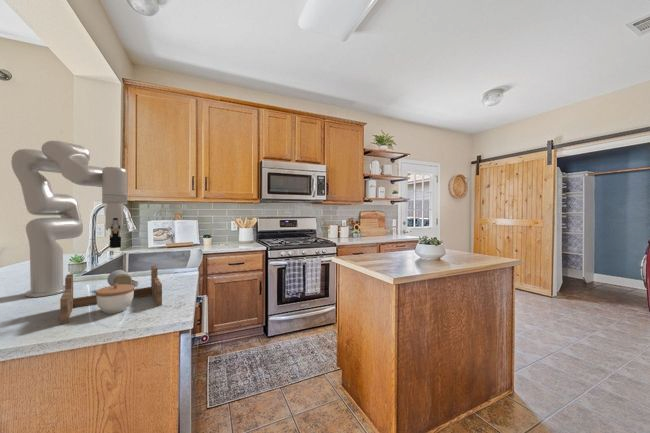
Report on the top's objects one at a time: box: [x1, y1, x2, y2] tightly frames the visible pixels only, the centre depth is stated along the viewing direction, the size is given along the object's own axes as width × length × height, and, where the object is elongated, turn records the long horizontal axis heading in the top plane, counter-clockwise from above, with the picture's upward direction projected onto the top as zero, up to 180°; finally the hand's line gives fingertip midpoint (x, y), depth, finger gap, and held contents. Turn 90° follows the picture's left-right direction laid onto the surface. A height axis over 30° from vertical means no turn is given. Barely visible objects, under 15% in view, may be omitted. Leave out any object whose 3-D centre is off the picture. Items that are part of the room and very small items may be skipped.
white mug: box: [107, 269, 139, 287], centre depth 120 cm, size 11×8×8 cm
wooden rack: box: [59, 265, 163, 325], centre depth 97 cm, size 18×27×12 cm, turn 130°
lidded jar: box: [95, 284, 135, 314], centre depth 93 cm, size 11×11×9 cm
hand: (115, 246), depth 100 cm, fingers open, 7 cm apart
